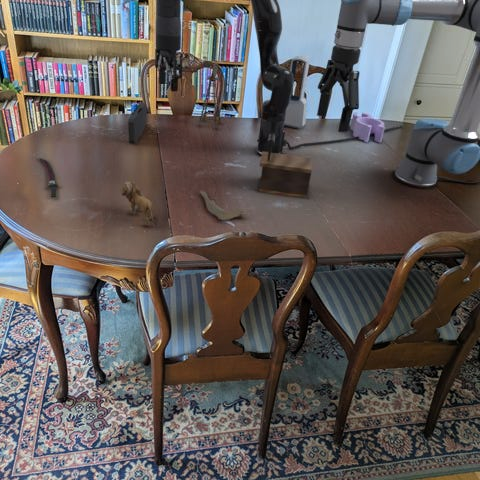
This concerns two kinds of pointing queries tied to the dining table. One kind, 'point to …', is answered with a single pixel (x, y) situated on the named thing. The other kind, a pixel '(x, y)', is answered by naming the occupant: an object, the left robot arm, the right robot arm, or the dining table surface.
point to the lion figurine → (137, 201)
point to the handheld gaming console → (137, 122)
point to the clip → (367, 127)
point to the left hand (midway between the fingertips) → (168, 87)
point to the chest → (284, 182)
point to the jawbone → (218, 211)
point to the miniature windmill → (212, 79)
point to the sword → (52, 181)
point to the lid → (284, 160)
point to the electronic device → (297, 97)
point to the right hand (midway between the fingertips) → (331, 123)
